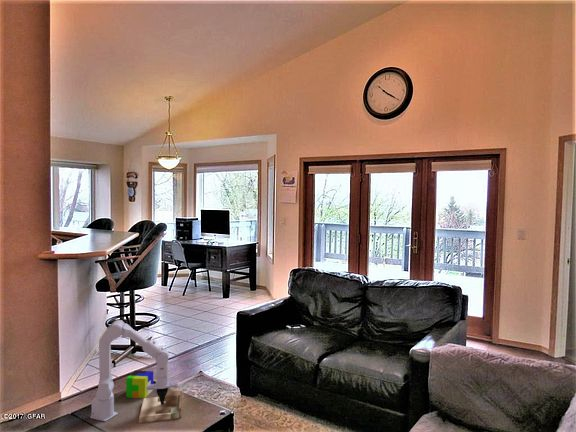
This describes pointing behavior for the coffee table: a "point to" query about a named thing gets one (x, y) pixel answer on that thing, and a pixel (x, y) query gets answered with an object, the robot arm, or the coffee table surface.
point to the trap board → (159, 409)
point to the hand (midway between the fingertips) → (162, 403)
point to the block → (171, 399)
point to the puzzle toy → (138, 384)
